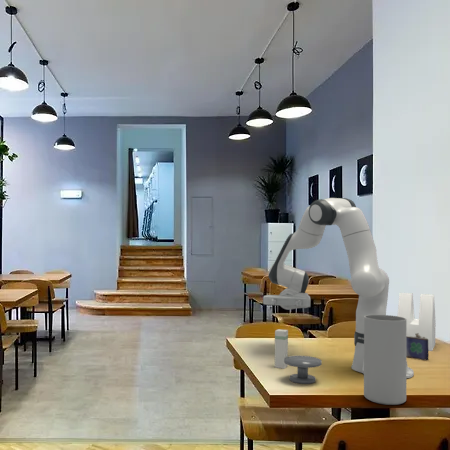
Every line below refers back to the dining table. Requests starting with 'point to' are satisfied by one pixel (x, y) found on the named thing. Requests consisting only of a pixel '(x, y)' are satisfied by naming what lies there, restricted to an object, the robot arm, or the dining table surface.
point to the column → (281, 348)
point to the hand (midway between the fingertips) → (285, 302)
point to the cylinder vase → (385, 359)
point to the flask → (417, 347)
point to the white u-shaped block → (426, 316)
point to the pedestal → (302, 368)
